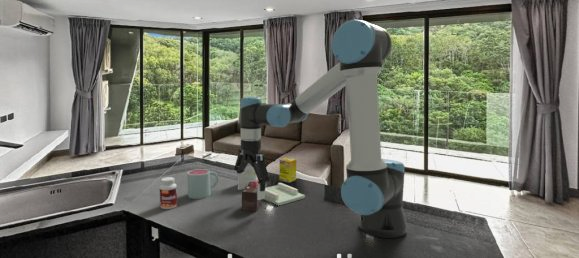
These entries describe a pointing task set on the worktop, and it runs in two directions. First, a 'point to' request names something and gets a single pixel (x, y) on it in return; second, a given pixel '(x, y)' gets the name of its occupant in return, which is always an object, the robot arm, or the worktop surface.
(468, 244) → the worktop surface
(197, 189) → the mug
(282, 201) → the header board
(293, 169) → the supplement box
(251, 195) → the box
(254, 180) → the ink box
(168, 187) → the pill bottle
